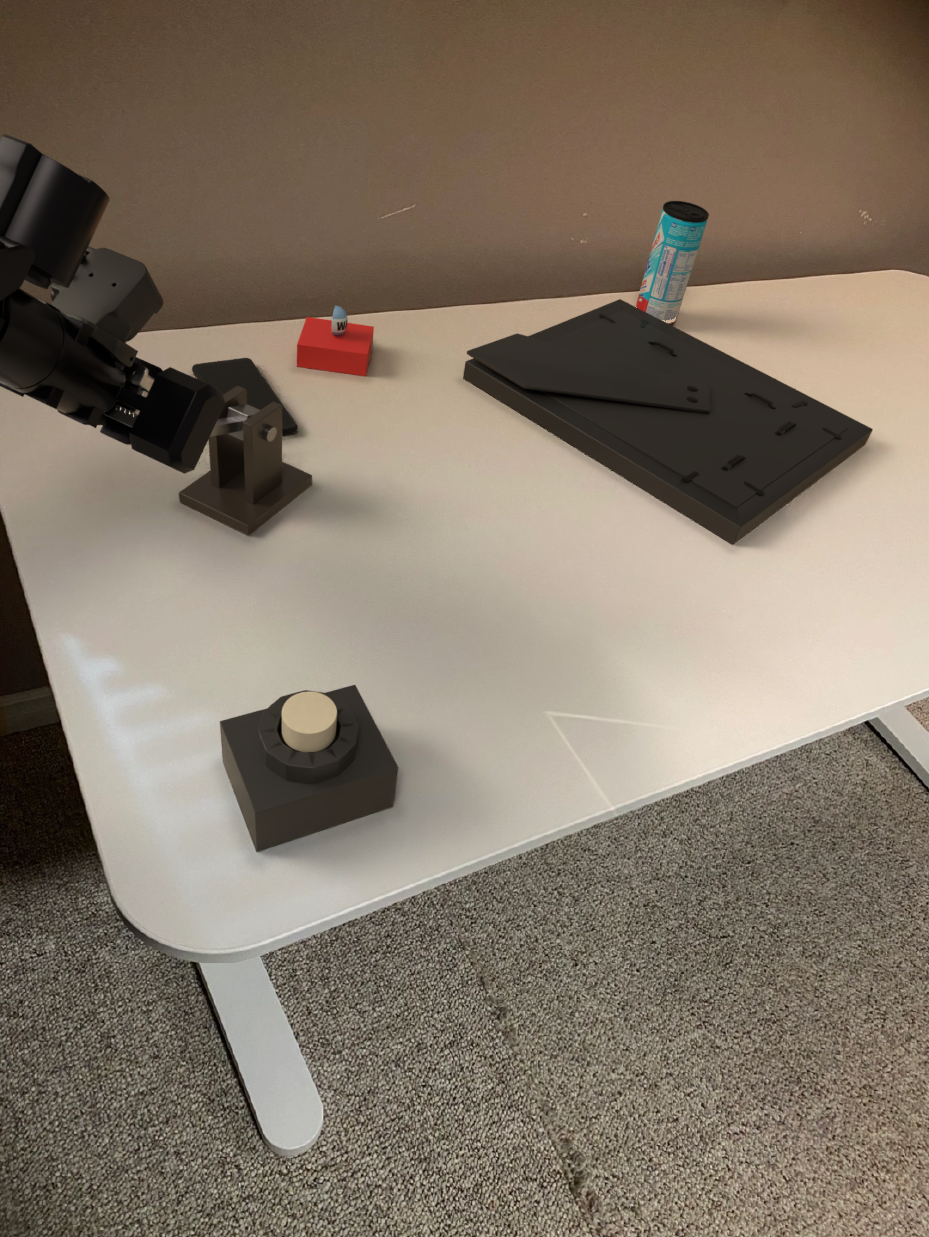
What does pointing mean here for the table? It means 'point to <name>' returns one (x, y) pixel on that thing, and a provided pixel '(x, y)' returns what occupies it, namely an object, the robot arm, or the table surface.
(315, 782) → the block
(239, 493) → the switch bracket
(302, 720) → the stop button
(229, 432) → the power switch
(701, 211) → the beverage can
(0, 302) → the robot arm
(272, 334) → the table surface
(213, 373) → the smartphone
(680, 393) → the picture frame
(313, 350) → the red low topped box
